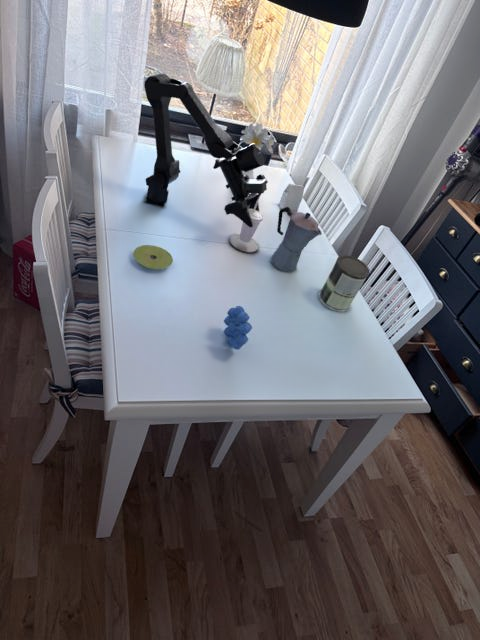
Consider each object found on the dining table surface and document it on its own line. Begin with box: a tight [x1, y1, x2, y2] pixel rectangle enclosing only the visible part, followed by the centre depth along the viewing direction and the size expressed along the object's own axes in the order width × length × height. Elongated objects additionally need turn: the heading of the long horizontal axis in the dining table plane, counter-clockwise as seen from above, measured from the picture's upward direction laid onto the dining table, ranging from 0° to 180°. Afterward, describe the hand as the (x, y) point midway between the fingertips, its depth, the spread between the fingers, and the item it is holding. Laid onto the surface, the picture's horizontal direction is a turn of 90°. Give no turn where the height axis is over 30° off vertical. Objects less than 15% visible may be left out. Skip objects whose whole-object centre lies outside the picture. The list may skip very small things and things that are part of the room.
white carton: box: [278, 183, 306, 212], centre depth 185 cm, size 4×7×10 cm, turn 107°
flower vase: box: [238, 122, 275, 179], centre depth 181 cm, size 13×18×25 cm
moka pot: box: [270, 207, 322, 273], centre depth 151 cm, size 10×15×20 cm, turn 58°
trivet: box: [228, 233, 259, 254], centre depth 158 cm, size 10×10×1 cm
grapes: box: [222, 305, 253, 350], centre depth 118 cm, size 12×7×12 cm, turn 18°
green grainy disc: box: [132, 244, 174, 270], centre depth 137 cm, size 11×11×2 cm
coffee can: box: [318, 254, 370, 313], centre depth 145 cm, size 10×10×14 cm
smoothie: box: [239, 200, 264, 242], centre depth 153 cm, size 6×6×14 cm
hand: (255, 223), depth 153 cm, fingers closed on smoothie, 6 cm apart
